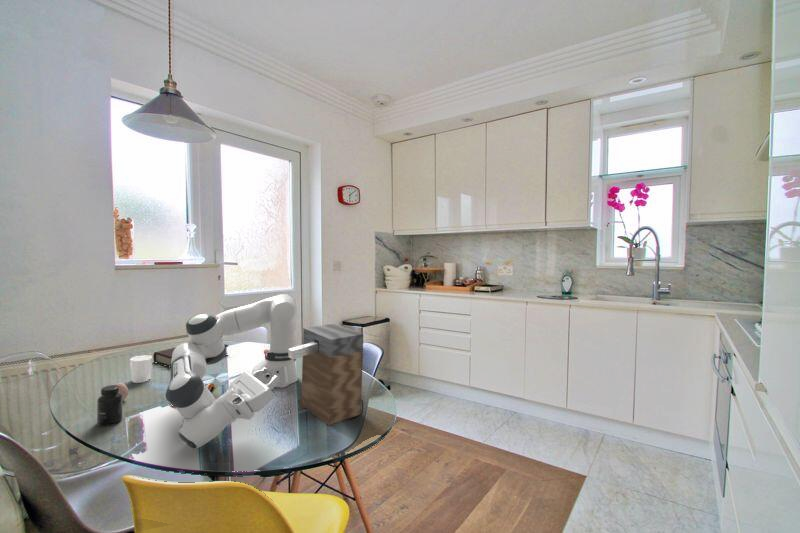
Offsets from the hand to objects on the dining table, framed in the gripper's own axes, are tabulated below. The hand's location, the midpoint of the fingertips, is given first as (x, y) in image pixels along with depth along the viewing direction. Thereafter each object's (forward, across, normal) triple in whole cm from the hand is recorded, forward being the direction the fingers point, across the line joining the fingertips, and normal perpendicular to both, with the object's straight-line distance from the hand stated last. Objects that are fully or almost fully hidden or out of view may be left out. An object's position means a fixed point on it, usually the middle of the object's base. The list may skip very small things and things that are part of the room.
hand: (272, 372), depth 122 cm
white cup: (-33, -75, -4) cm, 82 cm away
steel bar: (+16, 0, -4) cm, 16 cm away
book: (-12, -94, -16) cm, 97 cm away
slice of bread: (-22, -44, -11) cm, 51 cm away
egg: (-41, -55, +1) cm, 69 cm away
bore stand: (+10, 0, -29) cm, 31 cm away
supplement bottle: (-45, -38, +3) cm, 59 cm away
